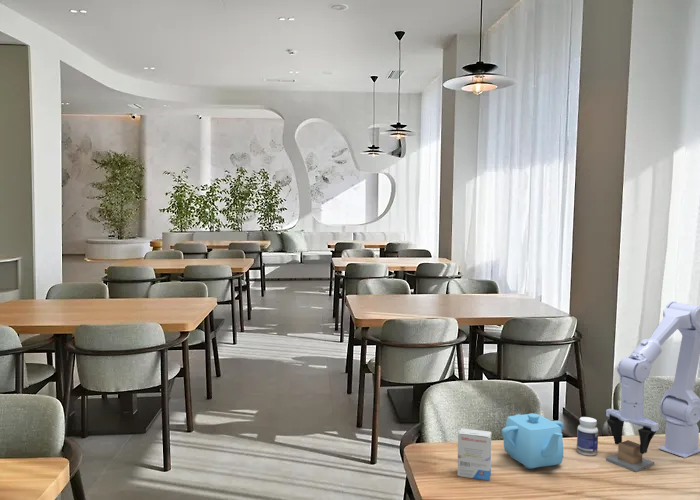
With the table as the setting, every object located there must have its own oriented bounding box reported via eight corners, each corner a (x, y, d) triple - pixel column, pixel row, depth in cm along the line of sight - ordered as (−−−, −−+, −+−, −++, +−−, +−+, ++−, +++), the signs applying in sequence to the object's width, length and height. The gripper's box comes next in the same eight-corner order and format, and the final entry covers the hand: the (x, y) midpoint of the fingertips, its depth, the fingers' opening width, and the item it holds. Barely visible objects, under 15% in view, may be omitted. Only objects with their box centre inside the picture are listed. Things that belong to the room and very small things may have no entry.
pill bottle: (599, 457, 171) (600, 423, 170) (578, 455, 172) (579, 421, 171) (595, 449, 176) (596, 416, 176) (575, 447, 178) (576, 415, 177)
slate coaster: (624, 453, 173) (624, 450, 173) (654, 464, 166) (654, 461, 166) (605, 460, 168) (606, 457, 168) (635, 472, 161) (636, 469, 161)
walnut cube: (627, 455, 170) (628, 440, 170) (642, 461, 166) (642, 445, 166) (617, 458, 168) (618, 443, 168) (632, 464, 164) (633, 448, 164)
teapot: (493, 464, 166) (494, 417, 165) (512, 445, 179) (513, 401, 178) (561, 480, 156) (562, 430, 155) (574, 459, 169) (576, 413, 169)
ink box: (491, 473, 160) (492, 430, 159) (489, 481, 155) (490, 437, 154) (459, 468, 163) (460, 426, 162) (456, 476, 158) (457, 433, 157)
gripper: (600, 396, 170) (598, 442, 171) (649, 410, 158) (647, 460, 159) (614, 392, 174) (613, 437, 175) (663, 406, 162) (661, 454, 163)
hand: (630, 448), depth 167 cm, fingers open, 7 cm apart
